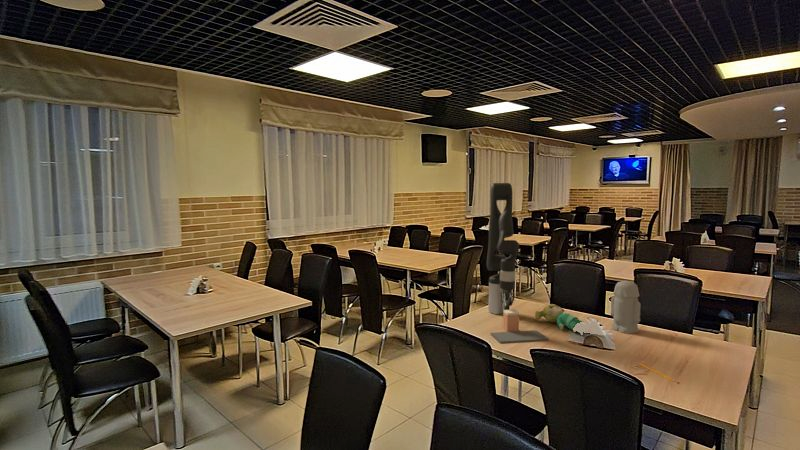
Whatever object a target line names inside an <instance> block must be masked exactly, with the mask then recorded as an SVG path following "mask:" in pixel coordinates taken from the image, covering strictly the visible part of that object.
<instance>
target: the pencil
mask: <svg viewBox="0 0 800 450" xmlns="http://www.w3.org/2000/svg"><path fill="white" fill-rule="evenodd" d="M637 364H638V365H640V366H642V367H643V368H646V369H648V370H649V371H652V372H653V373H656V374H658V375H660V376H662V377H664V378H666V379H668V380H670V379H671V380H670V381H672V380H674V381H676V382H678V383H680V382H679V381H677V380H675V379H673V378H671V377H669V376H667V375H665V374H663V373H661V372H659V371H657V370H655V369H652V368H651V367H648V366H647V365H644V364H642V363H641V362H640V363H639V362H637ZM674 381H673V382H674ZM676 382H675V383H676ZM678 383H677V384H678Z"/></svg>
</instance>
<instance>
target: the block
mask: <svg viewBox="0 0 800 450" xmlns="http://www.w3.org/2000/svg"><path fill="white" fill-rule="evenodd" d="M502 318H503V319H502V321H503V322H502V323H503V324H502V330H503V329H504V330H505V331H504V330H503V331H504V332H514V331H520V329H519V328H520V327H519V326H520V311H517V310H516V309H509V310H504V312H503V317H502Z"/></svg>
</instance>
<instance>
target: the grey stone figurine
mask: <svg viewBox="0 0 800 450" xmlns="http://www.w3.org/2000/svg"><path fill="white" fill-rule="evenodd" d="M612 294H613V295H612V297H611V298H610V299H611V305H610V316H612V317H613V324H611V330H613V331H616V332H619V333H621V334H622V333H623V334H631V335H632V334H635V333H639V326H638V325H639V323H640V322H641V305H642V304H641V302H640V301H639V297H640V292H639V288H638V285H637V284H636V283H634V282H632V281H629V280H621V281H617V283H616V284H615V286H614V291H613V293H612Z"/></svg>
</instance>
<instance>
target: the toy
mask: <svg viewBox="0 0 800 450" xmlns="http://www.w3.org/2000/svg"><path fill="white" fill-rule="evenodd" d="M534 317H535V318H536V320H540V319H542V317H544V319H545V320H546V321H547V322H550V323H556V324H557V326H558V328H560V331H562V330H564V328H565V327H567V328H568V329H570V330H572V329H573V328H574V327H575V325H576V324H577V323H580V322H583V320H580V319H579V318H578V317H577V316H575V315H573V314H570V313H567V312H565V309H563V308H562V307H561V306H559V305H557V304H553V303H550V304H547V305H545V306H544V307H543V309H542V310H540V311H535V314H534Z"/></svg>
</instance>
